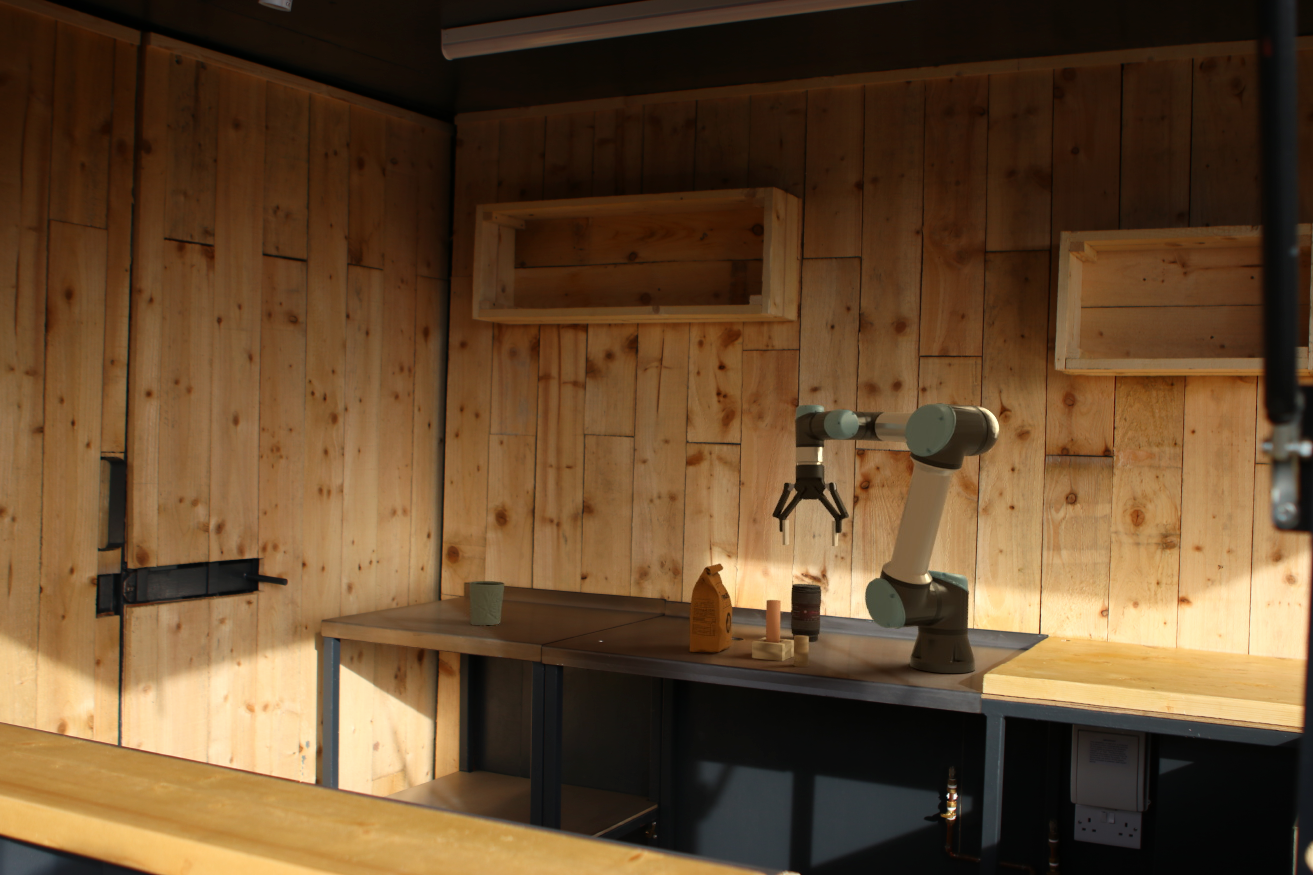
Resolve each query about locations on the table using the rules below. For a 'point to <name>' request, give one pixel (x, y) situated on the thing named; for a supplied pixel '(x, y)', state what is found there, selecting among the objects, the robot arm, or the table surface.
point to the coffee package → (710, 613)
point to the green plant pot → (486, 602)
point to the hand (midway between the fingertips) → (810, 545)
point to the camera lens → (806, 610)
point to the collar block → (773, 649)
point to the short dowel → (801, 651)
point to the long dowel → (773, 621)
